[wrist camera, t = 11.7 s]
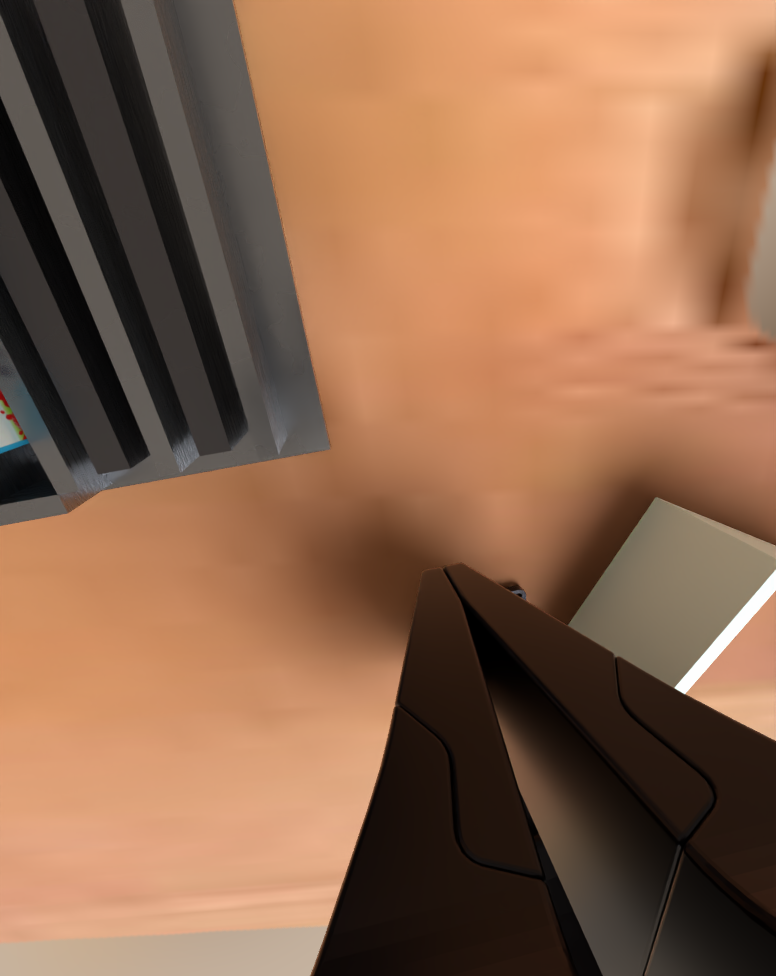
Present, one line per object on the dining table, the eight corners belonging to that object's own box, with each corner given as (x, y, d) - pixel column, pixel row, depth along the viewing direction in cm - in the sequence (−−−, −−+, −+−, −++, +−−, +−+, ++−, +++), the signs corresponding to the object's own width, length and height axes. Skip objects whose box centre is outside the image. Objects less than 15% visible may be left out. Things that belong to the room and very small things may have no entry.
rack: (330, 445, 19) (329, 470, 15) (13, 502, 18) (-60, 541, 14) (208, -115, 12) (157, -294, 8) (-330, -68, 11) (-629, -248, 7)
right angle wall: (548, 641, 27) (622, 748, 20) (648, 492, 23) (782, 561, 16) (671, 672, 30) (773, 774, 23) (778, 545, 26) (937, 622, 19)
